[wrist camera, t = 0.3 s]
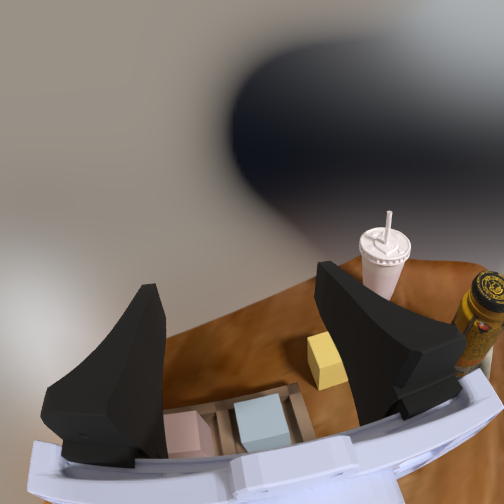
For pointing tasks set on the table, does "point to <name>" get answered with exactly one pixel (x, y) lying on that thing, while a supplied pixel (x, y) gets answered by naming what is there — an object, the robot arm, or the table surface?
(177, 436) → the rose block
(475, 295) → the condiment
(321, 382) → the mustard block
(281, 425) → the blue block
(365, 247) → the smoothie
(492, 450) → the table surface
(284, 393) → the block tray
